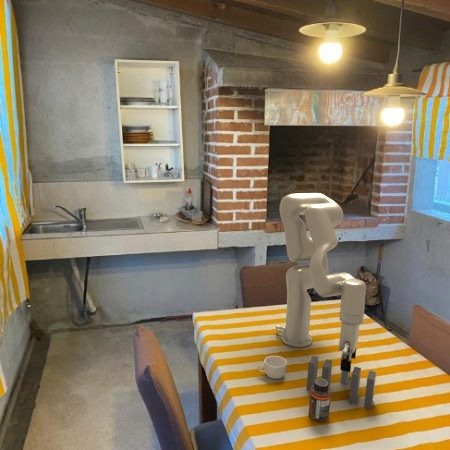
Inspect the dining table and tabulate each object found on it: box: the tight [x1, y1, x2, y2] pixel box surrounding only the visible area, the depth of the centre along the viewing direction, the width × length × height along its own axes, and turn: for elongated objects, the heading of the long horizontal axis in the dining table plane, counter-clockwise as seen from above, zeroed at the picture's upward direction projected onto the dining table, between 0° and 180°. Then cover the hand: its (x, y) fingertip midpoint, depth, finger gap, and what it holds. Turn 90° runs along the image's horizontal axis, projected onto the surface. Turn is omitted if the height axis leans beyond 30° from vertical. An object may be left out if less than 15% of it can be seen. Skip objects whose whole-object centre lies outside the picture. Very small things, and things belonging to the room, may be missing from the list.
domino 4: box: [348, 366, 362, 406], centre depth 127 cm, size 2×5×10 cm, turn 153°
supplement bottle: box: [308, 377, 332, 423], centre depth 119 cm, size 6×6×11 cm
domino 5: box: [363, 370, 377, 410], centre depth 125 cm, size 2×5×10 cm, turn 153°
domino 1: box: [306, 355, 320, 392], centre depth 133 cm, size 2×5×10 cm, turn 153°
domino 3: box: [340, 350, 352, 385], centre depth 138 cm, size 2×5×10 cm, turn 153°
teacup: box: [257, 355, 288, 380], centre depth 140 cm, size 10×8×5 cm
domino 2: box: [321, 358, 333, 390], centre depth 131 cm, size 2×5×10 cm, turn 153°
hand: (348, 364), depth 137 cm, fingers open, 9 cm apart
